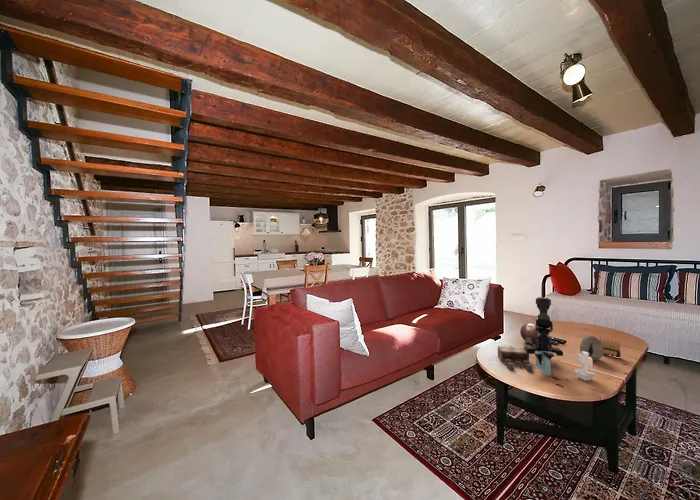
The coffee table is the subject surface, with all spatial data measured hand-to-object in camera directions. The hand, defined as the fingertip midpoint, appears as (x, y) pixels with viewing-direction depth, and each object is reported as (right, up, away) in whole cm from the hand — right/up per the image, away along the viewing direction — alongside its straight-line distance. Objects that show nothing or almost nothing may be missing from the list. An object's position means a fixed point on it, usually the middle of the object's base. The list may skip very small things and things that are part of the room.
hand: (542, 364), depth 173 cm
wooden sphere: (+19, -1, +41) cm, 45 cm away
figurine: (+16, -4, -11) cm, 20 cm away
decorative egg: (+39, -2, +12) cm, 41 cm away
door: (0, -3, 0) cm, 3 cm away
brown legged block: (-11, -3, +9) cm, 15 cm away
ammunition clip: (+54, -1, +17) cm, 57 cm away
